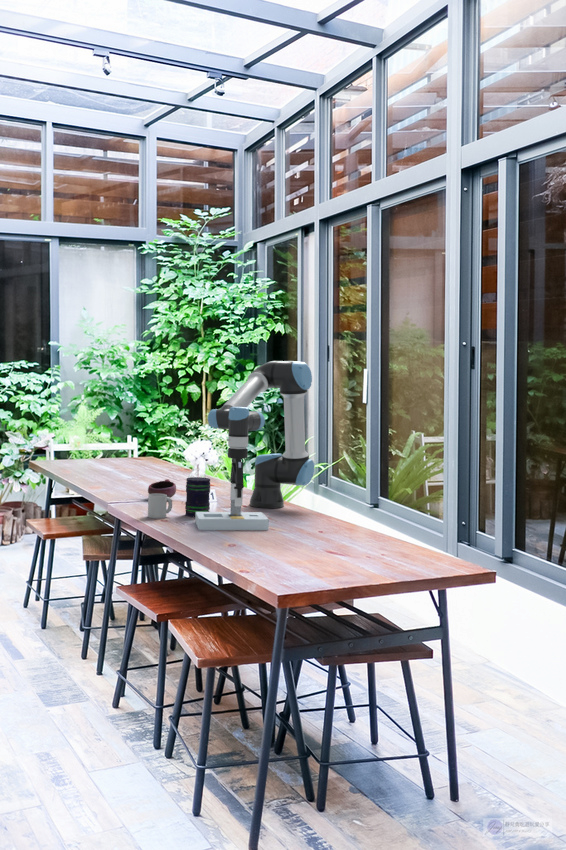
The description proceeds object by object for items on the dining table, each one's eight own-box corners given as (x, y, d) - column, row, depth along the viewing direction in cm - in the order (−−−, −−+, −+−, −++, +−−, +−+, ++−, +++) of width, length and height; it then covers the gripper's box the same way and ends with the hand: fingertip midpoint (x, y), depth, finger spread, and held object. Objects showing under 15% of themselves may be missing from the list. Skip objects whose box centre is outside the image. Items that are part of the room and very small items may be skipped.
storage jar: (211, 514, 333) (212, 478, 333) (206, 518, 324) (208, 480, 323) (187, 512, 334) (188, 476, 334) (182, 516, 325) (183, 479, 324)
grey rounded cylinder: (229, 525, 310) (230, 499, 310) (239, 525, 311) (240, 499, 311) (230, 527, 306) (231, 500, 306) (241, 527, 307) (242, 500, 307)
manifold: (195, 522, 314) (195, 510, 314) (261, 522, 319) (261, 511, 319) (198, 529, 298) (199, 518, 298) (268, 530, 303) (268, 518, 303)
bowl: (179, 501, 364) (179, 483, 363) (150, 502, 359) (151, 484, 358) (170, 496, 379) (170, 479, 378) (142, 496, 374) (143, 479, 373)
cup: (144, 516, 323) (145, 493, 322) (168, 514, 328) (168, 492, 327) (151, 519, 317) (152, 496, 316) (175, 517, 322) (176, 495, 321)
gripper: (224, 444, 319) (222, 497, 320) (232, 450, 294) (230, 508, 296) (243, 444, 320) (241, 498, 321) (252, 451, 296) (250, 508, 297)
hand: (236, 503), depth 309 cm, fingers open, 13 cm apart
